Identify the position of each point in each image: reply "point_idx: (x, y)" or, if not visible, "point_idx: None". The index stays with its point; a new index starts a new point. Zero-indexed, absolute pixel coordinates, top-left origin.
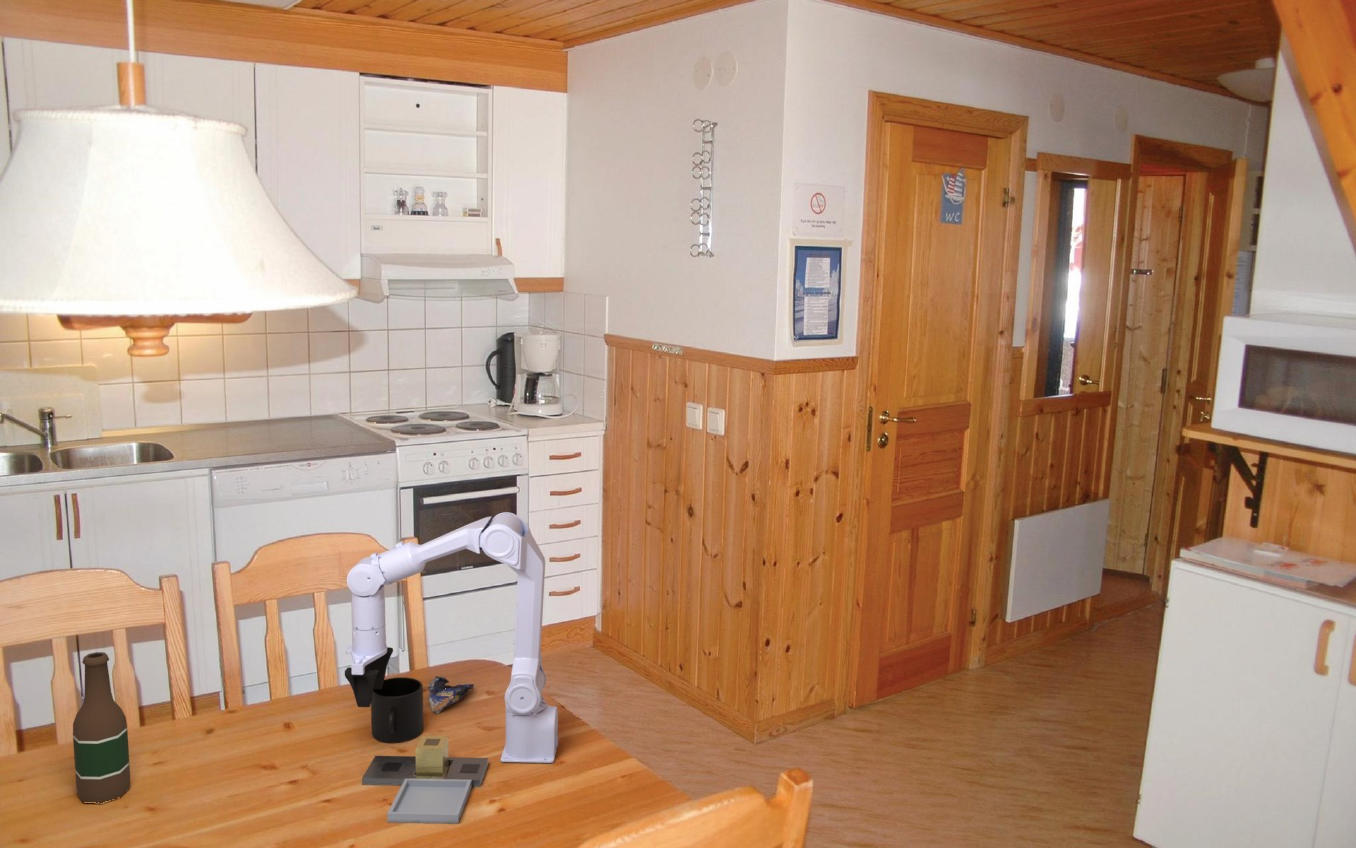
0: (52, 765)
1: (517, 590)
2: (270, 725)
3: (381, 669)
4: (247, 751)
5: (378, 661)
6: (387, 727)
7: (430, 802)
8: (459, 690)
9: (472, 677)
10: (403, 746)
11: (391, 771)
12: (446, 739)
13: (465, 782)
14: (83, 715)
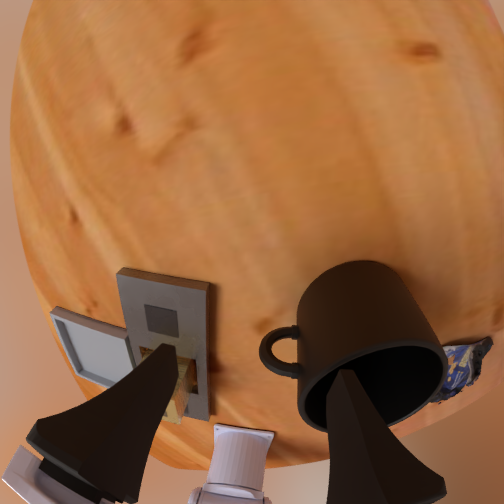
0: None
1: None
2: (421, 17)
3: (334, 465)
4: None
5: (340, 494)
6: (301, 323)
7: (99, 354)
8: (459, 376)
9: (492, 370)
10: (281, 327)
11: (146, 320)
12: (168, 421)
13: None
14: None
